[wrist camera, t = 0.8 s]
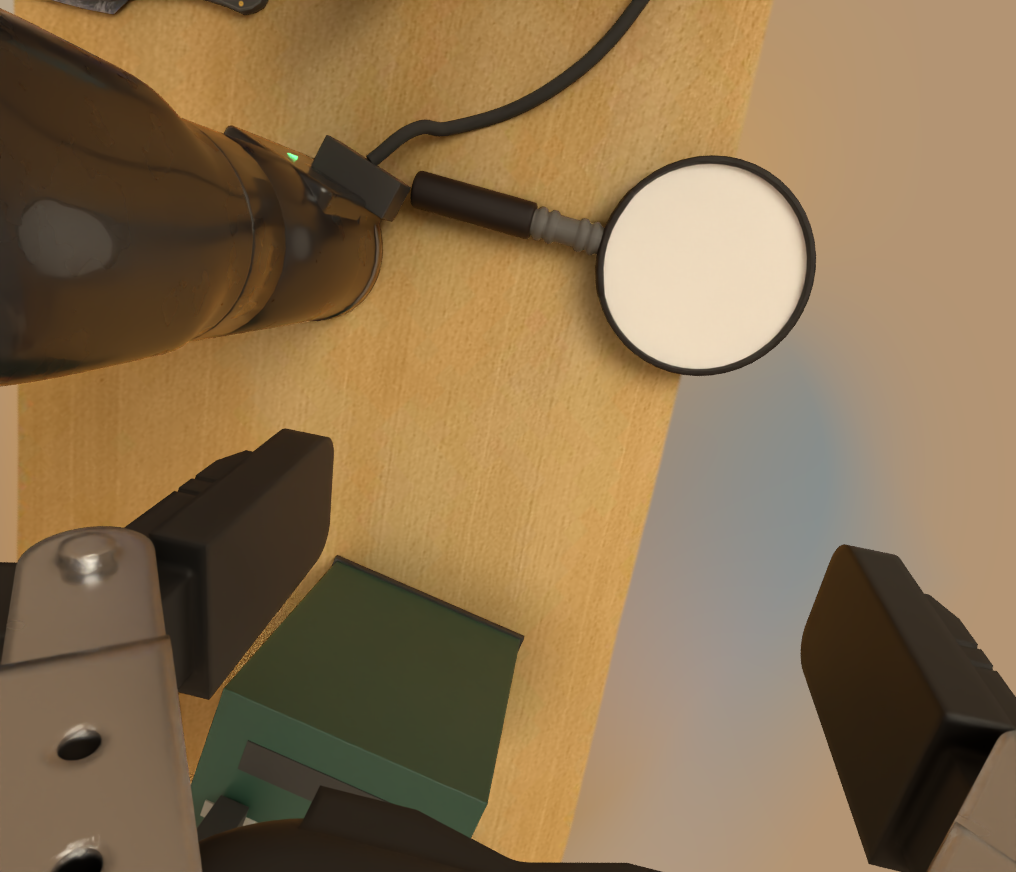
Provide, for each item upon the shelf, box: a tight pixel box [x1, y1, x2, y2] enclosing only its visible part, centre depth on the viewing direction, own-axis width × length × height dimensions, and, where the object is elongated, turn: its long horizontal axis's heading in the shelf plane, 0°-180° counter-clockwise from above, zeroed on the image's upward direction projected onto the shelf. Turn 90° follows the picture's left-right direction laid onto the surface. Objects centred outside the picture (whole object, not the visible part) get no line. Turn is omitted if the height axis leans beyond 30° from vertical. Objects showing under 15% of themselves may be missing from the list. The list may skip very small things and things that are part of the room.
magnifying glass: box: [410, 156, 816, 376], centre depth 42 cm, size 12×24×2 cm, turn 75°
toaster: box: [191, 555, 524, 838], centre depth 43 cm, size 14×9×16 cm, turn 68°
